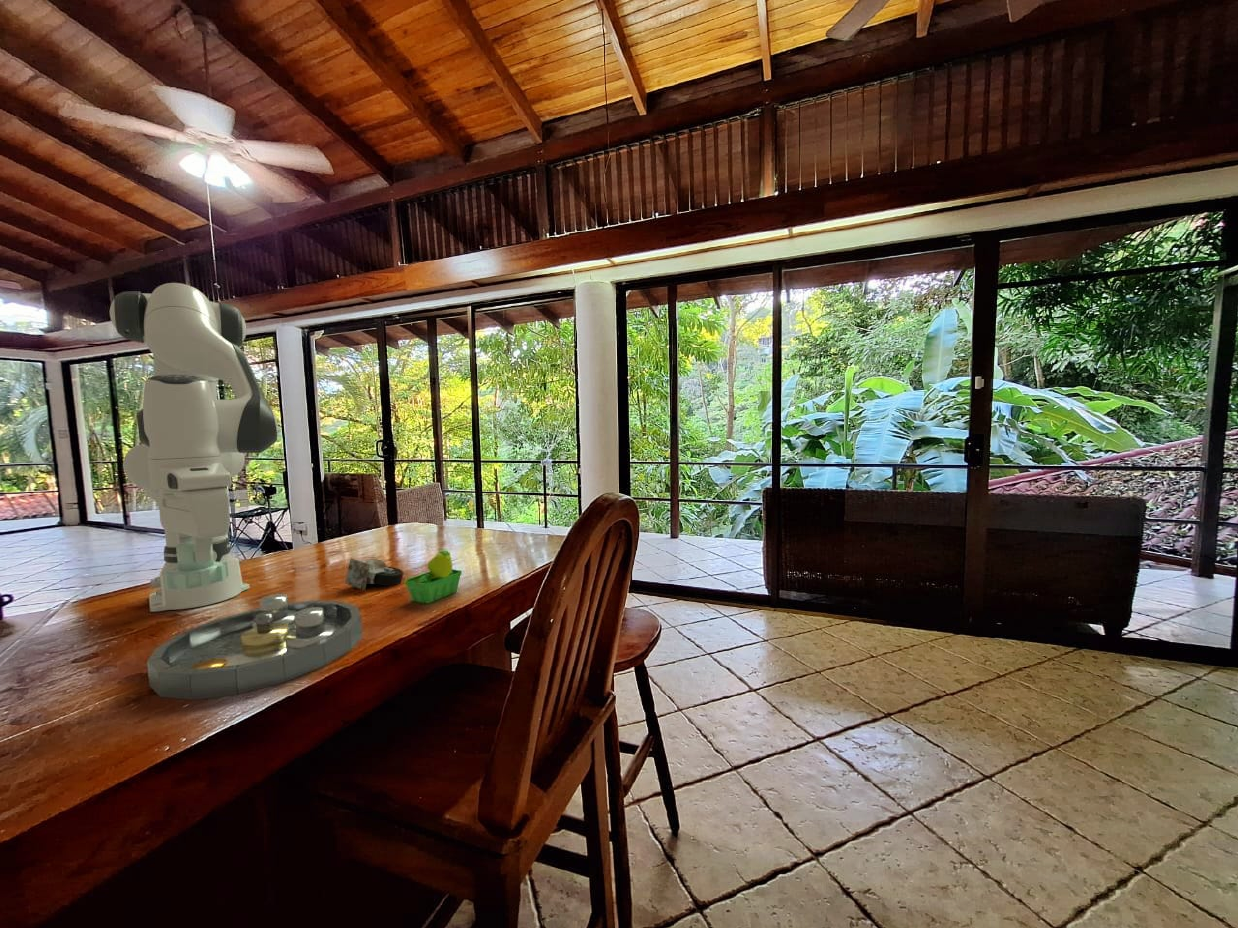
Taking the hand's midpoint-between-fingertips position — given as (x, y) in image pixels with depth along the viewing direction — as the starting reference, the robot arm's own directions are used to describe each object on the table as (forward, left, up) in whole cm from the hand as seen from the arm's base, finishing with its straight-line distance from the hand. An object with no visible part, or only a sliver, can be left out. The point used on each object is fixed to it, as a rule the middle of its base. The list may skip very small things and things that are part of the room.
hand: (196, 559), depth 78 cm
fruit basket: (+2, +43, -20) cm, 47 cm away
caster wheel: (-20, +41, -20) cm, 50 cm away
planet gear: (0, 0, -4) cm, 4 cm away
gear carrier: (0, +9, -19) cm, 21 cm away
